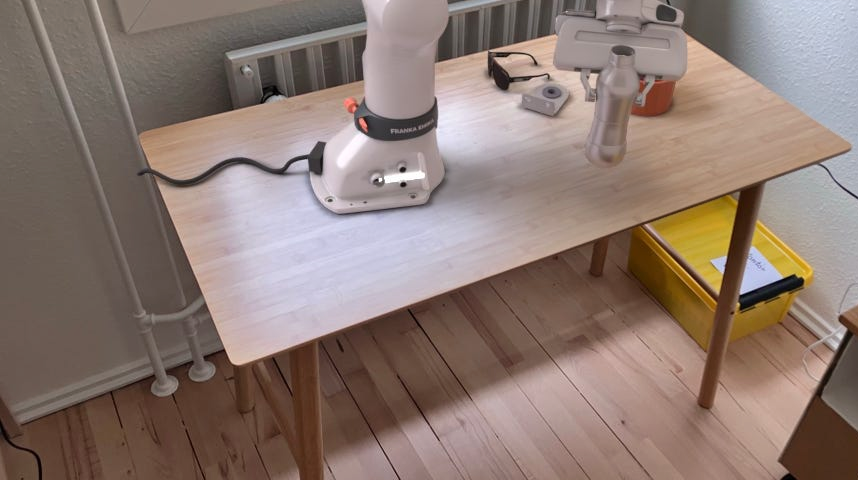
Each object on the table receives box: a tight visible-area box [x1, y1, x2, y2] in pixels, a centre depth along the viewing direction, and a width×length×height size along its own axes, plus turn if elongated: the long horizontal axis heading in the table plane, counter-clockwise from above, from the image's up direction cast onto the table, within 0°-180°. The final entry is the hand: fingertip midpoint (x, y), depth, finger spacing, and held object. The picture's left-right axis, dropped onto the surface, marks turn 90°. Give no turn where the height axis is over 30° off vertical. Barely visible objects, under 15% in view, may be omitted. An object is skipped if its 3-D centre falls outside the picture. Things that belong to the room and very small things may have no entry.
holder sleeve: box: [630, 78, 677, 117], centre depth 159 cm, size 11×11×7 cm
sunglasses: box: [487, 50, 551, 91], centre depth 165 cm, size 10×12×5 cm
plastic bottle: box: [584, 45, 640, 169], centre depth 129 cm, size 6×7×20 cm
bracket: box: [521, 82, 570, 117], centre depth 159 cm, size 7×10×4 cm, turn 153°
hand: (614, 103), depth 127 cm, fingers closed on plastic bottle, 6 cm apart
